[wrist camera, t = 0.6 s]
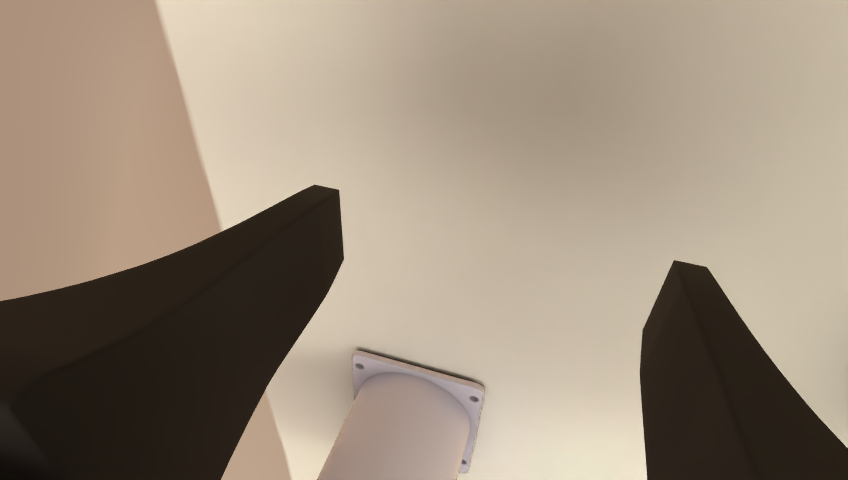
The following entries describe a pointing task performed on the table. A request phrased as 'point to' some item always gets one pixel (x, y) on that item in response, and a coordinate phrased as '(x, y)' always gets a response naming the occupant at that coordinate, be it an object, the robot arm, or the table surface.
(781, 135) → the table surface
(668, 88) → the table surface
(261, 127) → the table surface
